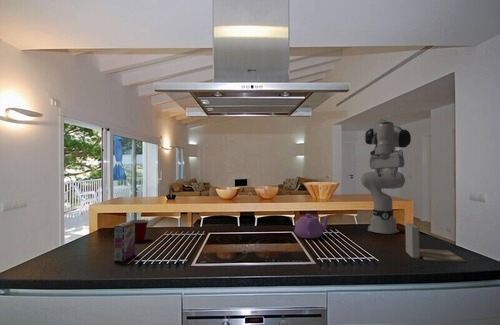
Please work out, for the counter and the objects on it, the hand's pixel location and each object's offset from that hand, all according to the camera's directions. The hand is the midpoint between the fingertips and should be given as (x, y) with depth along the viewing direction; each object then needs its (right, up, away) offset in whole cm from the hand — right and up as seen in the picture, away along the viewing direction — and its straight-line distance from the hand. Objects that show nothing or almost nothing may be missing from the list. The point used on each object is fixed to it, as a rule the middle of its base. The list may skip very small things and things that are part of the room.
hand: (386, 176), depth 153 cm
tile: (+5, -37, -17) cm, 40 cm away
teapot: (-35, -38, +21) cm, 56 cm away
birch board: (+15, -36, -19) cm, 44 cm away
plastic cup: (-139, -39, +16) cm, 145 cm away
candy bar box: (-133, -38, -17) cm, 139 cm away
